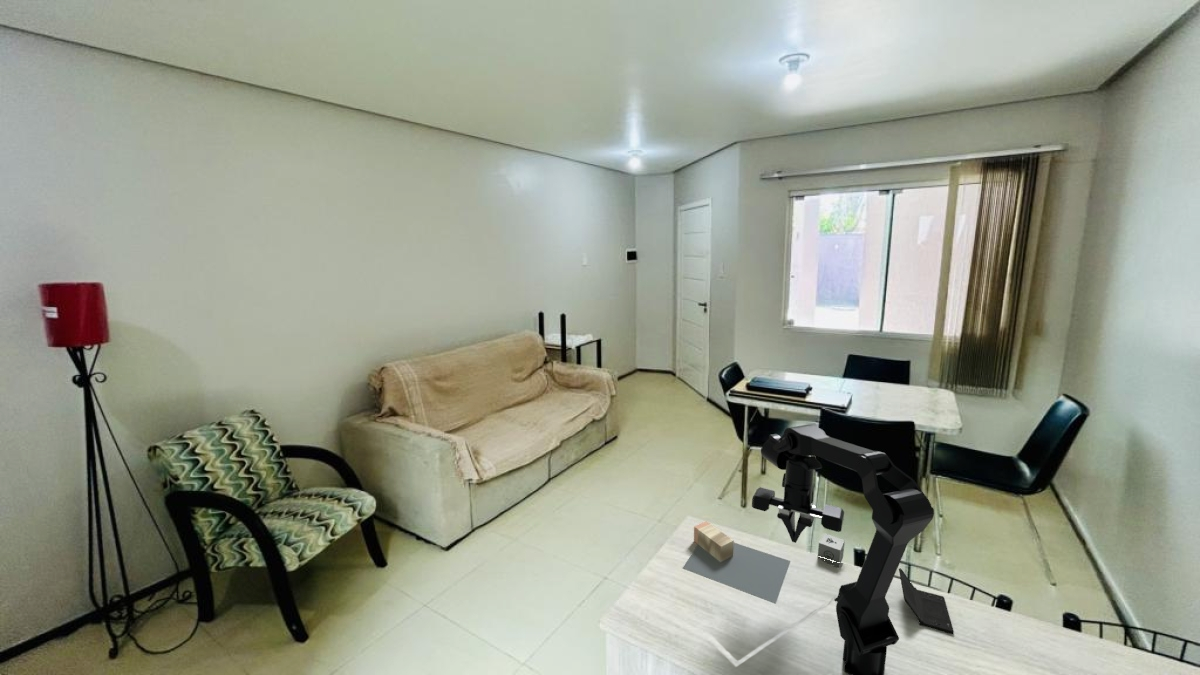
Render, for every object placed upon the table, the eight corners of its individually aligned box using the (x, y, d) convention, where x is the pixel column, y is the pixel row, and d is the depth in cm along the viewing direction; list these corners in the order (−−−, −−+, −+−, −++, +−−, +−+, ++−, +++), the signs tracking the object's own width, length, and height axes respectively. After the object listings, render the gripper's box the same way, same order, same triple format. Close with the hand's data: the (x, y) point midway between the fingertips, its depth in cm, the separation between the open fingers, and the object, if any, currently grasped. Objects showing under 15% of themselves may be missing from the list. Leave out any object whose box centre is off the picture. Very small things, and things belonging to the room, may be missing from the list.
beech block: (733, 540, 120) (706, 521, 128) (721, 546, 118) (694, 526, 126) (733, 555, 121) (706, 535, 129) (720, 562, 119) (693, 541, 127)
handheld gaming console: (966, 630, 96) (934, 587, 97) (932, 644, 98) (901, 601, 99) (944, 597, 107) (915, 559, 108) (914, 610, 109) (886, 572, 110)
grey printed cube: (822, 549, 124) (823, 533, 123) (843, 557, 121) (844, 540, 120) (817, 559, 120) (818, 542, 119) (838, 567, 117) (840, 550, 116)
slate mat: (790, 563, 119) (790, 560, 118) (775, 606, 105) (775, 603, 105) (705, 535, 131) (705, 533, 130) (682, 570, 117) (682, 568, 117)
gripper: (849, 474, 106) (843, 535, 109) (764, 455, 115) (761, 512, 119) (844, 497, 96) (837, 563, 100) (752, 474, 106) (749, 535, 109)
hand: (794, 541), depth 107 cm, fingers closed
